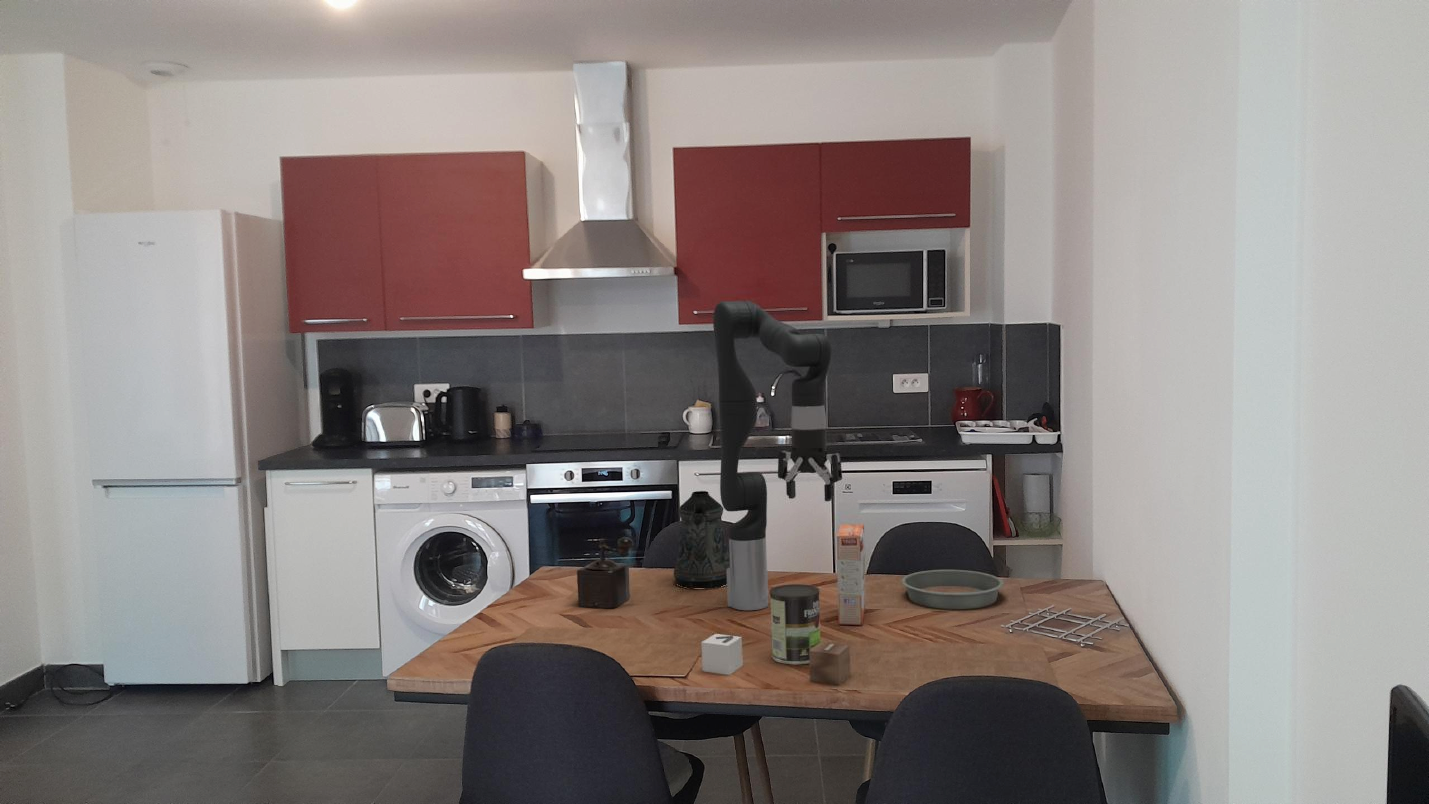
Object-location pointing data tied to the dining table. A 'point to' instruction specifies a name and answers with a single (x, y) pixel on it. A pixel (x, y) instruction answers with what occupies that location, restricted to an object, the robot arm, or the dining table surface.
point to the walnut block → (829, 662)
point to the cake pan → (952, 578)
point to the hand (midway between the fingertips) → (810, 499)
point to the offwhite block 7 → (722, 654)
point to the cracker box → (851, 574)
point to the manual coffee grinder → (605, 579)
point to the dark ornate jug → (701, 544)
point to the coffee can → (794, 622)
